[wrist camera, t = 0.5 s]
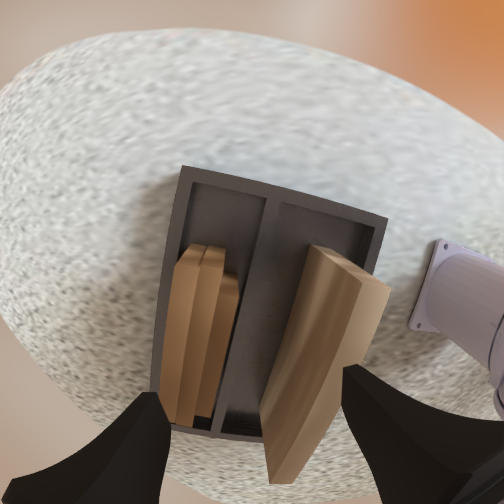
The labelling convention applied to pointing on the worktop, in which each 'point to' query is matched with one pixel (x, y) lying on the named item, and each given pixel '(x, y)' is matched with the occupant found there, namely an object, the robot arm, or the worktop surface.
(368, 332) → the birch sheet
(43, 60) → the worktop surface
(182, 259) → the oak offcuts
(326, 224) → the rack
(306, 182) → the worktop surface
